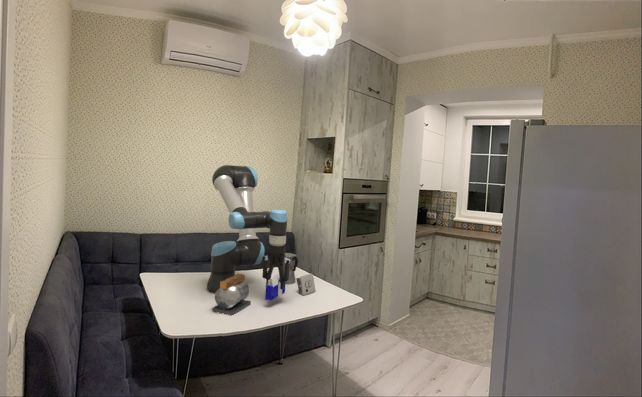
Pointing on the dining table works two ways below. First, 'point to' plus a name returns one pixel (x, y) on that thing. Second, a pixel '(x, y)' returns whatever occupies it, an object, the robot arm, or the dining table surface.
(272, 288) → the blue notched block
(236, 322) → the dining table surface
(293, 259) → the coffeepot
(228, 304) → the silver rounded piece
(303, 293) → the electrical switch
